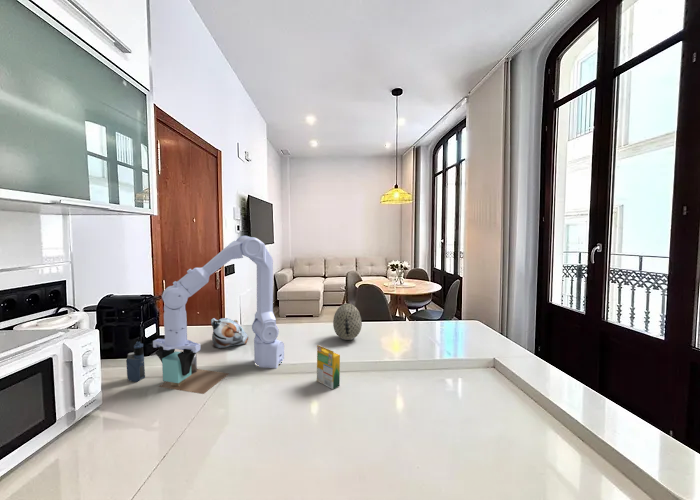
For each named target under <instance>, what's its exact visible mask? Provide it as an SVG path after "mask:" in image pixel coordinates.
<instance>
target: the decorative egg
mask: <svg viewBox="0 0 700 500" xmlns="http://www.w3.org/2000/svg"><path fill="white" fill-rule="evenodd" d="M362 321H363V320H362V316H361V314H360V311H359V309H358V308H357V307H356V306H355V305H354V304H352V303H343V304H341V305H340V306H339V307H338V308H337V309H336V311H335V312H334V315H333V322H332V323H333V330H334V333H335V334H336V336H337V337H338V338H339V339H342V340H343V341H344V340H345V341H351V340H353V339H355V338H356V337H358V335H359V334H360V332H361V330H362V326H363V325H362V324H363V323H362Z"/></svg>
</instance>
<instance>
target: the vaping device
mask: <svg viewBox="0 0 700 500" xmlns="http://www.w3.org/2000/svg"><path fill="white" fill-rule="evenodd" d="M125 360H126V378H127V380H128V381H129V382H134V383H135V382H136V383H139V382H140V381H141V380H143V379H145V378H146V373H145V372H146V371H145V356H144V343H141V341H136V343H135V344H134V345H133V352H129V353H127V357H126V359H125Z"/></svg>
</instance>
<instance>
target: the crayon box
mask: <svg viewBox="0 0 700 500" xmlns="http://www.w3.org/2000/svg"><path fill="white" fill-rule="evenodd" d="M316 348H317V349H316V351H317V352H316V382H318V383H320V384H322V385H324V386H326V387H328V388H329V389H331V390H334V389H337V388H338V387H340V379H341V378H340V377H341V376H340V375H341V369H340V368H341V354H338V353H337V352H334V351H333V350H331V349H329V348H327V347H324V346H322V345H318V344H317V345H316Z"/></svg>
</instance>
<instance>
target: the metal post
mask: <svg viewBox="0 0 700 500" xmlns="http://www.w3.org/2000/svg"><path fill="white" fill-rule="evenodd" d="M197 358H198V357H197V353H196V354H195V356H194V358H193V361H192V364H191V374H193V373H196V372H197V369H198V363H197V362H198V361H197Z"/></svg>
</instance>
